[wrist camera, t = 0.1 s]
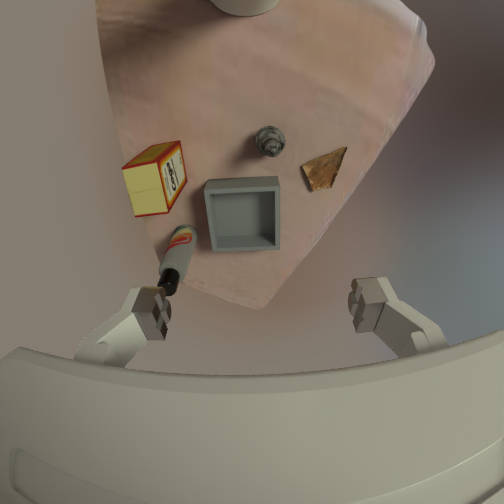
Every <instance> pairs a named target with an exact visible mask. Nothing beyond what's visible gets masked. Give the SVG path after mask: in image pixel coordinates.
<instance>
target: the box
mask: <svg viewBox="0 0 504 504" xmlns="http://www.w3.org/2000/svg"><path fill="white" fill-rule="evenodd" d="M204 196H205V203H206V210H207V217H208V224H209V231H210V237H211V244H212V250H213V252H231V251H256V250H280V184H279V180H278V176H266V177H243V178H226V179H211V180H208V181H207V183H206V186H205V188H204Z"/></svg>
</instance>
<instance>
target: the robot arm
mask: <svg viewBox="0 0 504 504" xmlns="http://www.w3.org/2000/svg"><path fill="white" fill-rule="evenodd" d="M210 1H211V2H212V3H213V4H214V5H215V6H216V7H218V8H219V9H220V10H222V11H224V12H226V13H229V14H232V15H236V16H254V15H259V14H262V13H265V12H267V11H269V10H271V9H272V8H273V7H275V6H276V5H277V4H278V3H279V1H280V0H210ZM351 287H352V291H351V292H350V293H349V297H348V307H349V312H350V314H351V315H352V316H353V317H354V319H353V324H354V327H355V330H356V333H363V332H373V331H374V333H375V334H376V335H377V336H378V337H379V338H380V339H381V340H382V341H383V342H384V343H385V344H386V345H387V346H388V347H389V348H390V349H391V350H392V351H393V352H394V353H395V354H396V355H398V358H397V359H393V360H388V361H383V362H377V363H371V364H365V365H359V366H352V367H346V368H338V369H330V370H321V371H311V372H299V373H287V374H266V375H198V374H178V373H165V372H153V371H143V370H135V369H127V368H125V365H126V364H127V363H128V362H129V361H130V360H131V359H132V358H133V357H134V355H135V354H136V353H137V352H138V351H139V350H140V349H141V348H142V347H143V346H144V344H145V343H146V342H147V340H165V337H166V333H167V330H168V328H167V326H166V324H167V323H168V322H169V321H170V318H171V305H170V302H169V300H167V299H166V298H165V297H166V294H167V293H166V291H165V288H163V287H132V288H131V289H130V291H129V293H128V295H127V298H126V300H125V302H124V304H123V307H122V309H121V311H120V312H117V313H115V314H114V315H113V316H112V317H110V318H109V319H108V320H106V321H105V322H104V323H103V324H101V325H100V326H99V327H97V328H96V329H95V330H94V331H92V332H91V333H90V334H89V335H87V336H86V337H85V338H84V339H82V341H81V343H80V345H79V348H78V350H77V352H76V354H75V357H74V359H73V360H72V359H68V358H63V357H58V356H55V355H50V354H46V353H42V352H38V351H34V350H31V349H28V348H24V347H18V348H16V349H14V350H13V351H11V352H10V353H8V354H7V355H6V356H4V357H3V358H2V359H1V360H0V504H504V329H499V330H496V331H493V332H491V333H488V334H485V335H482V336H480V337H477V338H474V339H471V340H468V341H464V342H461V343H458V344H454V345H451V346H448V343H447V341H446V339H445V337H444V335H443V333H442V331H441V329H440V327H439V326H438V325H436V324H435V323H434V322H432V321H430V320H429V319H428V318H426V317H425V316H423V315H422V314H421V313H419V312H417V311H416V310H415V309H413V308H412V307H410V306H409V305H407V304H406V303H404V302H403V301H399V300H398V298H397V297H396V294H395V293H394V291H393V289H392V287H391V285H390V283H389V281H388V280H387V278H386V277H385V276H378V277H370V278H358V279H353V281H352V284H351Z"/></svg>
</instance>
